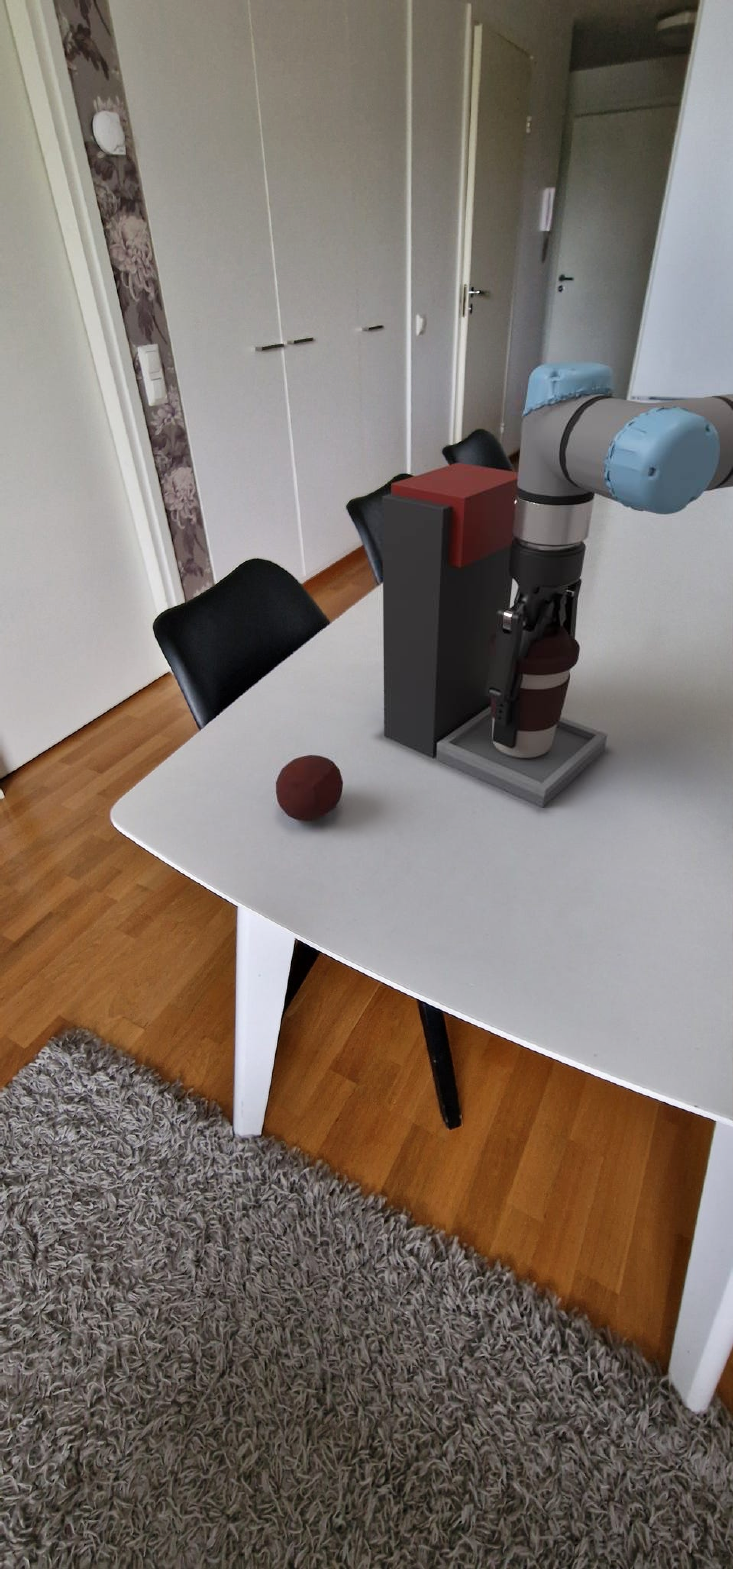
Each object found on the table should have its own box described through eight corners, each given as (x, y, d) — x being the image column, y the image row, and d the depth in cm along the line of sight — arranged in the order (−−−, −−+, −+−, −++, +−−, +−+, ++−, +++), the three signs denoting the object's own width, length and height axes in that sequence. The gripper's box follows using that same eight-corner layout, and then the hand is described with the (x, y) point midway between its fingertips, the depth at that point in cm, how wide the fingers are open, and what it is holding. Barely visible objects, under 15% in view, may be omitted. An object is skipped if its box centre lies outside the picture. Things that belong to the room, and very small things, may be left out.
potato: (354, 801, 81) (352, 750, 77) (323, 842, 75) (319, 789, 71) (299, 786, 83) (294, 736, 79) (264, 824, 78) (257, 772, 74)
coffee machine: (604, 750, 88) (660, 491, 70) (542, 807, 79) (588, 527, 61) (451, 692, 101) (465, 460, 82) (384, 736, 92) (381, 486, 73)
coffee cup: (570, 766, 83) (592, 649, 74) (485, 766, 83) (497, 650, 74) (553, 721, 91) (571, 611, 82) (476, 722, 91) (485, 612, 82)
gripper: (566, 509, 80) (541, 686, 94) (458, 558, 68) (447, 754, 81) (629, 521, 76) (593, 704, 89) (526, 576, 63) (502, 778, 77)
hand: (524, 727), depth 85 cm, fingers closed on coffee cup, 8 cm apart
